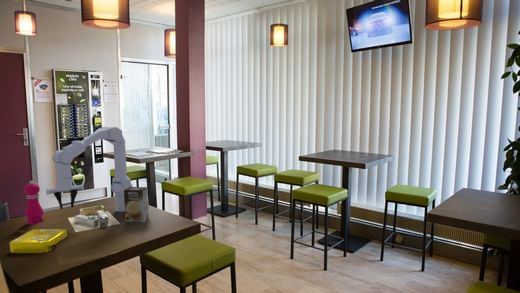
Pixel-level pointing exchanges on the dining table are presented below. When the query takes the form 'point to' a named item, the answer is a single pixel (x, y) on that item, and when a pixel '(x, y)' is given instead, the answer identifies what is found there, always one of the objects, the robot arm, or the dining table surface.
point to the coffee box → (136, 204)
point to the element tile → (38, 241)
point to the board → (83, 227)
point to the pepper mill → (33, 204)
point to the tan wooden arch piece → (91, 210)
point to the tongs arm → (87, 220)
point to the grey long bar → (102, 218)
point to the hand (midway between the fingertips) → (66, 207)
